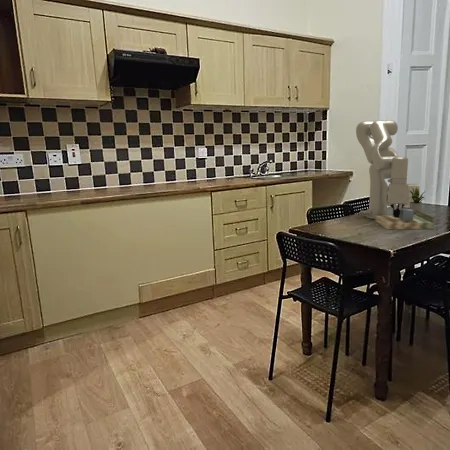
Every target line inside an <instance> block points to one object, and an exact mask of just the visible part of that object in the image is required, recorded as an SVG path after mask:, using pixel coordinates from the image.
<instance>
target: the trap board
mask: <svg viewBox="0 0 450 450" xmlns="http://www.w3.org/2000/svg"><path fill="white" fill-rule="evenodd" d="M435 219H436V217H435V216H433V215H431V214H429V213H428V212H427V213H426V212H424V211H422V210H421V211H420V210H416V214H414V216H413V220H401V219H400V215H399V217H394V215H389V216H376V219H374V221H375V223H377V224H379V225H380V226H382V227H383V228H385V229H386V230H433V229H435Z"/></svg>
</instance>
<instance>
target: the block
mask: <svg viewBox="0 0 450 450" xmlns="http://www.w3.org/2000/svg"><path fill="white" fill-rule="evenodd" d="M414 215H415V214H414V210H411V209H410V208H401V210H400V219H401V220H413V216H414Z"/></svg>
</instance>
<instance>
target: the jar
mask: <svg viewBox="0 0 450 450" xmlns="http://www.w3.org/2000/svg"><path fill="white" fill-rule="evenodd" d="M407 184H408V185H409V190H410V191H412V192H413V189H414V192H415V188H416V187H417V189H418V188H419V189H418V190H419V197H420V196H421V194H420V193H421V190H420V187H421V184H419V183H407ZM411 187H412V188H413V189H412V188H411ZM410 191H409V203H408V205H407V206H404V207H403V209H410V202H414V201H413V199H412V200H411V198H412V194H411V192H410ZM410 197H411V198H410Z"/></svg>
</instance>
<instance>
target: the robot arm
mask: <svg viewBox="0 0 450 450" xmlns="http://www.w3.org/2000/svg"><path fill="white" fill-rule="evenodd" d="M398 128H399V127H398V124H397V122H396V121H395V120H393V119H391V120H390V119H389V120H388V119H385V120H384V119H382V120H365V121H360V122H359V123H358V124H357V125H356V128H355V135H356V139H357V141H358V143H359V145H360V146H361V148H362V149H363V152H364V155H365V157H366V160H367V162H368V163H369V164H370V166H369V169H368V172H369V185H370V187H369V206H368V208H367V209H366V210H360V211H359V213H360V215H365V218H367V219H372V220H376V216H390V215H389V214H388V207H391V209H393V210H392V216H394V217H399V215H400V210H401V209H403V208H404V206H407V205H408V203H409V185H408V184H409V183H407V182H408V168H409V167H408V165H409V159H408V157H406V156H399V155H398V153H397V151H396V149H394V148H392V147H390V146H391V145H392V144H393V138H392V137H393V136H395V135H396V134H397V133H398ZM386 179H387V181H386ZM388 183H389V184H388Z"/></svg>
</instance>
